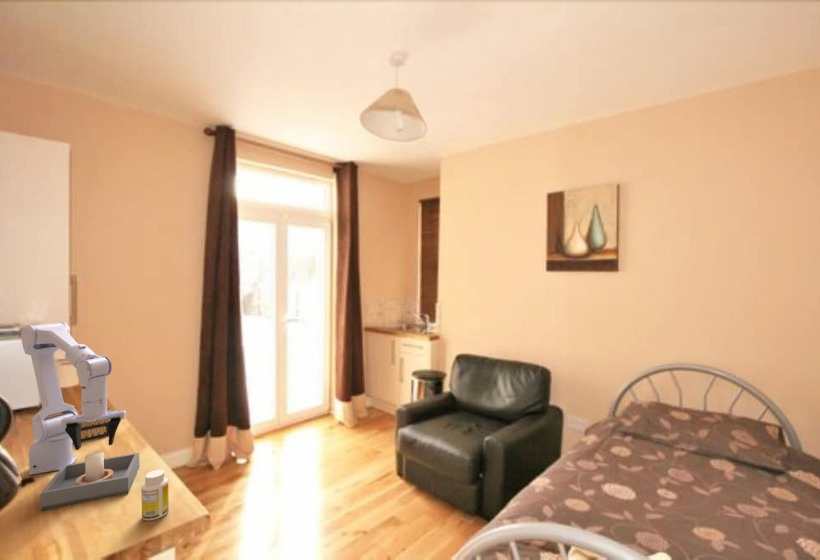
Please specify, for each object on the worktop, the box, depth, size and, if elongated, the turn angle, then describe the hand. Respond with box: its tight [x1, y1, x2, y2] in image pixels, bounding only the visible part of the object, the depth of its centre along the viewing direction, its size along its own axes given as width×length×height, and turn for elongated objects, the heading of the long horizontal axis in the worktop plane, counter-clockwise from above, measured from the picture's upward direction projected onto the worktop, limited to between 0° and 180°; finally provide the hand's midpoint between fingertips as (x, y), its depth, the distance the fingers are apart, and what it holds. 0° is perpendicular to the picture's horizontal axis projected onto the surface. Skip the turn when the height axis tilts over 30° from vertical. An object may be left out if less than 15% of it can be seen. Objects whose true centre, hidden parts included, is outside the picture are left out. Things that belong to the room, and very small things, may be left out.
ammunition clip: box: [72, 402, 111, 445], centre depth 140 cm, size 11×2×12 cm, turn 132°
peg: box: [84, 451, 105, 482], centre depth 108 cm, size 4×4×8 cm
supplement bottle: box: [140, 469, 170, 521], centre depth 96 cm, size 6×6×10 cm
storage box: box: [39, 452, 140, 512], centre depth 108 cm, size 18×16×4 cm
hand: (94, 446), depth 113 cm, fingers open, 7 cm apart
